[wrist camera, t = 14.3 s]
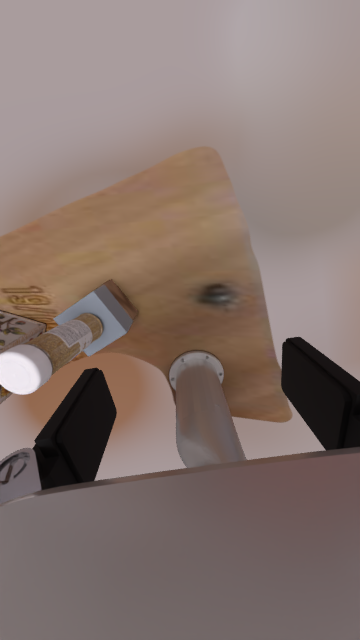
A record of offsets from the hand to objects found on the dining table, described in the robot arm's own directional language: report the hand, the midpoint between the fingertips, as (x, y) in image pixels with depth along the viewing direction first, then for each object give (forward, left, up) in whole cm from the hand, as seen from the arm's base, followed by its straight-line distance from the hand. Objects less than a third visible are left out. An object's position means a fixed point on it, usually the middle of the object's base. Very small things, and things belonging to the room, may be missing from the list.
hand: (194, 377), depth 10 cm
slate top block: (+4, +15, -26) cm, 30 cm away
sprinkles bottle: (+4, +15, -20) cm, 25 cm away
